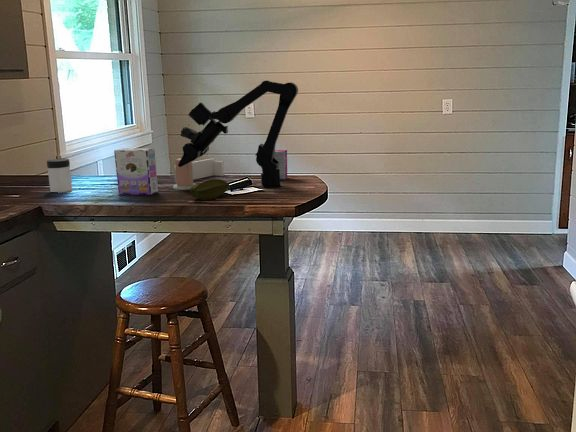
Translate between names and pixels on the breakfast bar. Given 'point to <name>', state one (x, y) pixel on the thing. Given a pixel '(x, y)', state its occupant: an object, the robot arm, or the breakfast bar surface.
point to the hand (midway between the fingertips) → (182, 164)
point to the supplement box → (282, 162)
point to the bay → (205, 168)
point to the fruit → (209, 189)
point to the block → (184, 174)
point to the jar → (59, 175)
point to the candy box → (136, 171)
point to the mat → (182, 187)
